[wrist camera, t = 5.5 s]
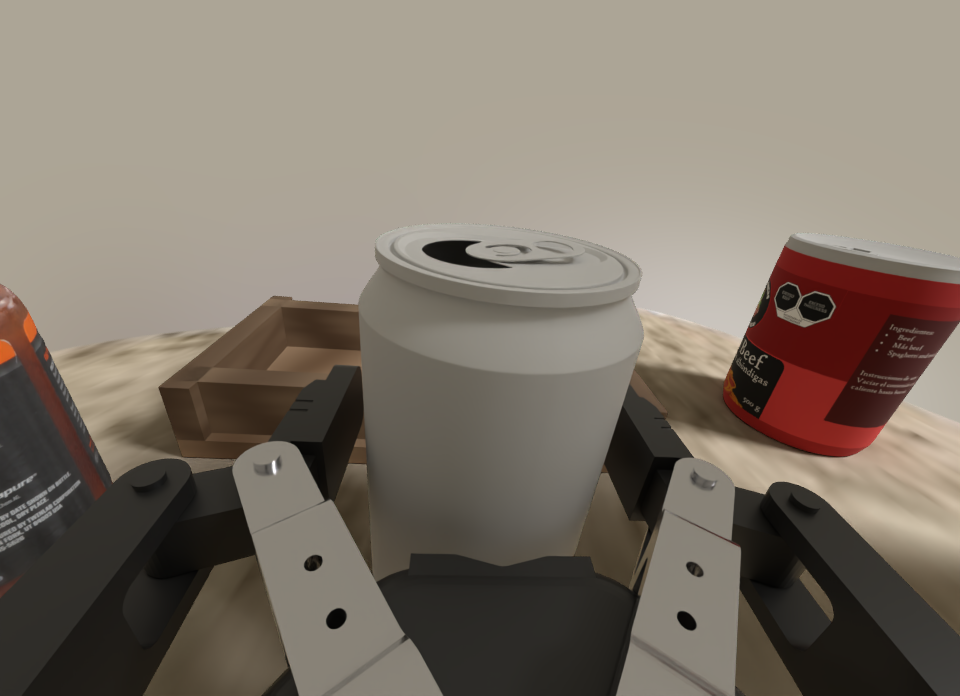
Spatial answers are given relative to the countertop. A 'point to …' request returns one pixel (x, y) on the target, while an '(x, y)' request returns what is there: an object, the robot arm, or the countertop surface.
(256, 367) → the wooden tray
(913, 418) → the countertop surface
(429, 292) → the beverage can
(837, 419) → the canned food
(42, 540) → the supplement bottle
